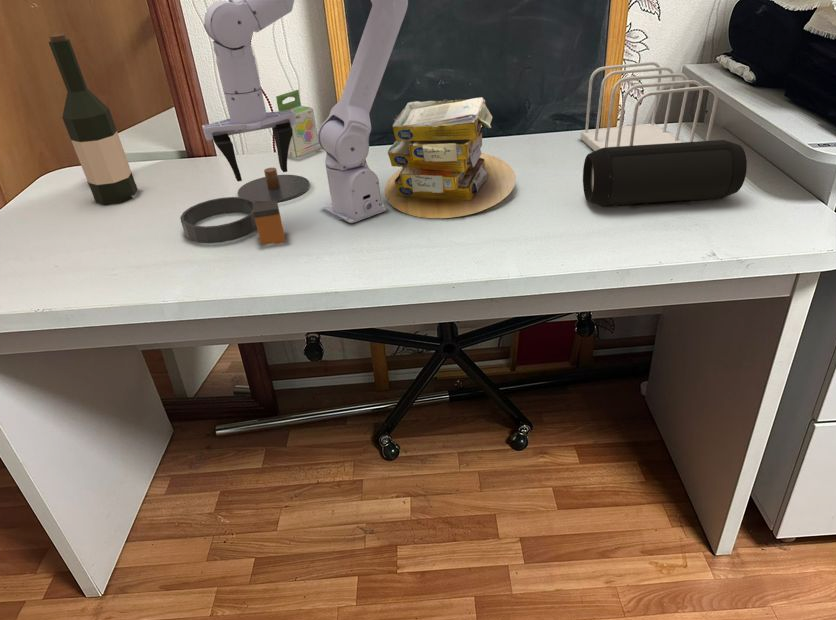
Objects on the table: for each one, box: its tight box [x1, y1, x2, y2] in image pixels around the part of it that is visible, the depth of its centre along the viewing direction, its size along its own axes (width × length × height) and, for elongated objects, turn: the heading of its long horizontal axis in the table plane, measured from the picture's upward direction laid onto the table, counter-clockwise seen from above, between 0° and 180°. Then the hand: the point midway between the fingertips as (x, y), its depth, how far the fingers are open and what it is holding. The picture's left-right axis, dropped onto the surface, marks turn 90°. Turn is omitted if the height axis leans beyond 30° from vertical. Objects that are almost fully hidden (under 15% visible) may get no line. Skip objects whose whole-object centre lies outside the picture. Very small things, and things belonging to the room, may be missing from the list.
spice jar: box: [253, 200, 286, 246], centre depth 104 cm, size 4×4×6 cm
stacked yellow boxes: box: [384, 96, 517, 219], centre depth 115 cm, size 25×25×17 cm
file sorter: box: [580, 61, 719, 152], centre depth 126 cm, size 25×17×16 cm
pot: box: [179, 196, 257, 244], centre depth 110 cm, size 13×13×3 cm
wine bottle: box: [48, 33, 138, 206], centre depth 119 cm, size 8×8×30 cm
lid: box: [237, 167, 311, 203], centre depth 123 cm, size 14×14×5 cm
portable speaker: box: [582, 139, 748, 208], centre depth 108 cm, size 26×10×10 cm, turn 92°
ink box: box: [275, 89, 321, 159], centre depth 139 cm, size 7×4×13 cm, turn 143°
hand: (261, 174), depth 104 cm, fingers open, 7 cm apart
